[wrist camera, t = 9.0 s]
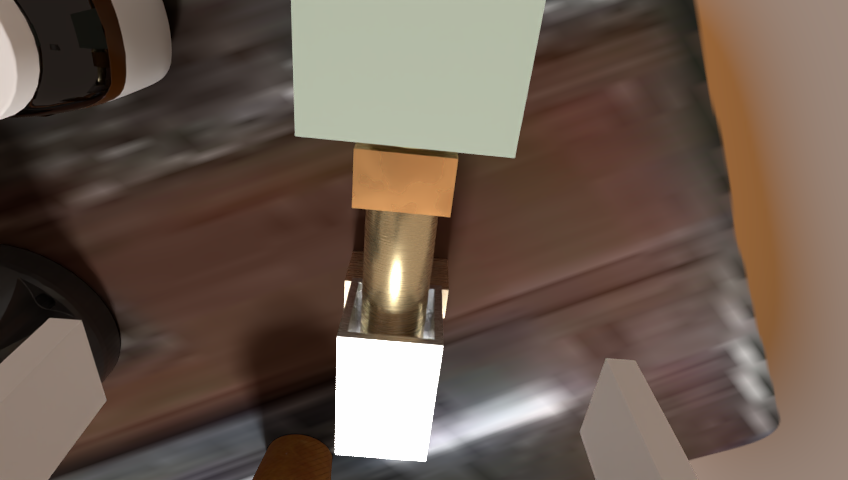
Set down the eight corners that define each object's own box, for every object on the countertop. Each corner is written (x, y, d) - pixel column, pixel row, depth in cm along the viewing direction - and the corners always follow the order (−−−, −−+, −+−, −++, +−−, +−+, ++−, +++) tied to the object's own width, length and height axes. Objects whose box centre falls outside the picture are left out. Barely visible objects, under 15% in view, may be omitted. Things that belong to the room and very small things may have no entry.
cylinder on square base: (358, 338, 35) (346, 398, 30) (371, 39, 25) (356, 56, 20) (425, 344, 35) (424, 405, 30) (463, 49, 26) (470, 68, 21)
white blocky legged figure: (349, 350, 41) (327, 453, 32) (353, 247, 36) (328, 335, 27) (433, 357, 41) (433, 462, 33) (447, 255, 36) (452, 346, 28)
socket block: (342, 78, 30) (295, 136, 20) (344, -32, 27) (289, -33, 17) (486, 93, 31) (514, 158, 20) (503, -15, 28) (546, -4, 17)
